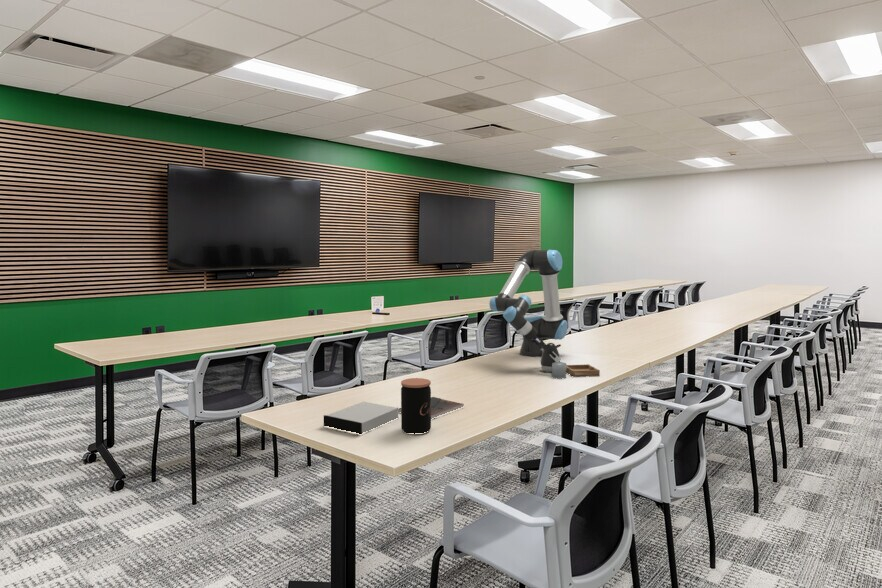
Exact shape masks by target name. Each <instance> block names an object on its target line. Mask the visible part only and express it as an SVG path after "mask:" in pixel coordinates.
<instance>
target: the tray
mask: <svg viewBox="0 0 882 588" xmlns="http://www.w3.org/2000/svg"><path fill="white" fill-rule="evenodd" d="M600 372H601V371H600V369H598V368H596V367H594V365H593V366H592V365H591V364H588V363H587V364H566V374H567V373H568V375H569V374H570V376H571V377H572V376H573V377H572V378H584V377H586V376H589V377H600V375H601V373H600Z"/></svg>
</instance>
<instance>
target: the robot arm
mask: <svg viewBox="0 0 882 588" xmlns="http://www.w3.org/2000/svg"><path fill="white" fill-rule="evenodd" d="M563 262H564V261H563V258H562V254H561V253H560V251H558V250H557V249H530V250H529V251H526V252H525V253H523V254H522V255H521V256H519V257H518V259H517V260H516V262H515V263H514V268H513V270H512V272H511V274H510V275H509V277H508V278H507V280H506V282H505V284H504V285H503V287H502V289H501V291H500V292H499V294H498V296H495V297H491V298H490V299H489V304H488V305H489V308H490V310H491V311H492V312H500V313H501V312H502V313H503V314H502V317H503V318H504V319H505V321H506V322H508V324H510V326H512V327H513V329H515V330H516V331H517V332H516V333H517V334H520V335H521V336H522V344H521V347H520V350H519V354H520V355H521V354H522V356H525V355H526V356H525V357H542V353H543V350H545V351H546V352H547V353H548V354H547V355H548V356H549V355H550V356H551V357H552V358H553V359H554V360H555V361H556V362H559V361H560V362H561V360H562V358H561V357H560V358H559V357H558V356H557V355H556V354H555V353H554V352H553V350H552V349H551V348H549V347H548V346H547V343H545V342H544V341H543V339H548V340H563V339H564V338H565V337H566V335H567V332H568V321H567V320H565V319H564V316H563V315H562V313H561V305H560V293H559V286H558V285H559V284H558V283H559V282H558V274H560V271H561V270H562V268H563ZM531 271H538V275H539V276H541V280H542V281H541V283H542V292H543V302H544V312H545V315H544V316H543V315H533V316H526V317H525V315H526V314H527V312H528V311H529V310H530V307H531V305H532V299H531V298H530V296H529V295H527V294H521V295H520V296H519V297H518V298H514V296H515V295H516V293H517V291H518V289H519V288H520V286H521V284H522V283H523V280H524V279H525V277H526V275H529V274H530V272H531Z"/></svg>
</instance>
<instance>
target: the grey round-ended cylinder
mask: <svg viewBox="0 0 882 588" xmlns="http://www.w3.org/2000/svg"><path fill="white" fill-rule="evenodd" d="M566 365H567V363H566V362H564V361H563V362H562V361H560V362H553V363H552V372H551V378H552V377H553V378H552V379H556V378H557V379H559V380H562V378H564V379H566V378H567V373H566Z"/></svg>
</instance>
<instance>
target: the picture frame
mask: <svg viewBox="0 0 882 588" xmlns="http://www.w3.org/2000/svg"><path fill="white" fill-rule="evenodd" d="M463 406H464V407H465V404H464V403H462V402H461V403H460V402H457V401H452V400H447V399H443V398H440V397H436V396H431V419H432V418H434V417H437V416H439V415H442V414H445V413H447V412H450V411H453V410H456V409H458V408H461V407H463ZM398 412H401V407H400V408H399V407H398Z"/></svg>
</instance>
